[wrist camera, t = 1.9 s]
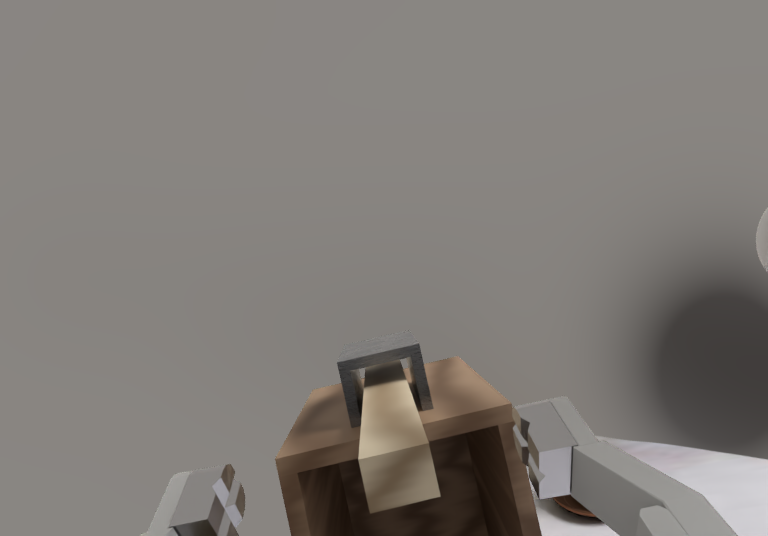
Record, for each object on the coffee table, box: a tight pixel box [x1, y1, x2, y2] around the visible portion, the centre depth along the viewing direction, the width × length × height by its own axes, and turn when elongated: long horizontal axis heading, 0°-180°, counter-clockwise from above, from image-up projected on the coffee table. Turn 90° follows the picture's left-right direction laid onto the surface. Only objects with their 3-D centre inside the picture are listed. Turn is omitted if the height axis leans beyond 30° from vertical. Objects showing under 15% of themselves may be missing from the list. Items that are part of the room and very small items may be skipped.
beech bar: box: [358, 360, 441, 514], centre depth 36 cm, size 4×28×3 cm, turn 2°
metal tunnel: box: [337, 330, 434, 428], centre depth 41 cm, size 8×10×6 cm
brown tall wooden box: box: [275, 356, 542, 536], centre depth 43 cm, size 20×21×26 cm
